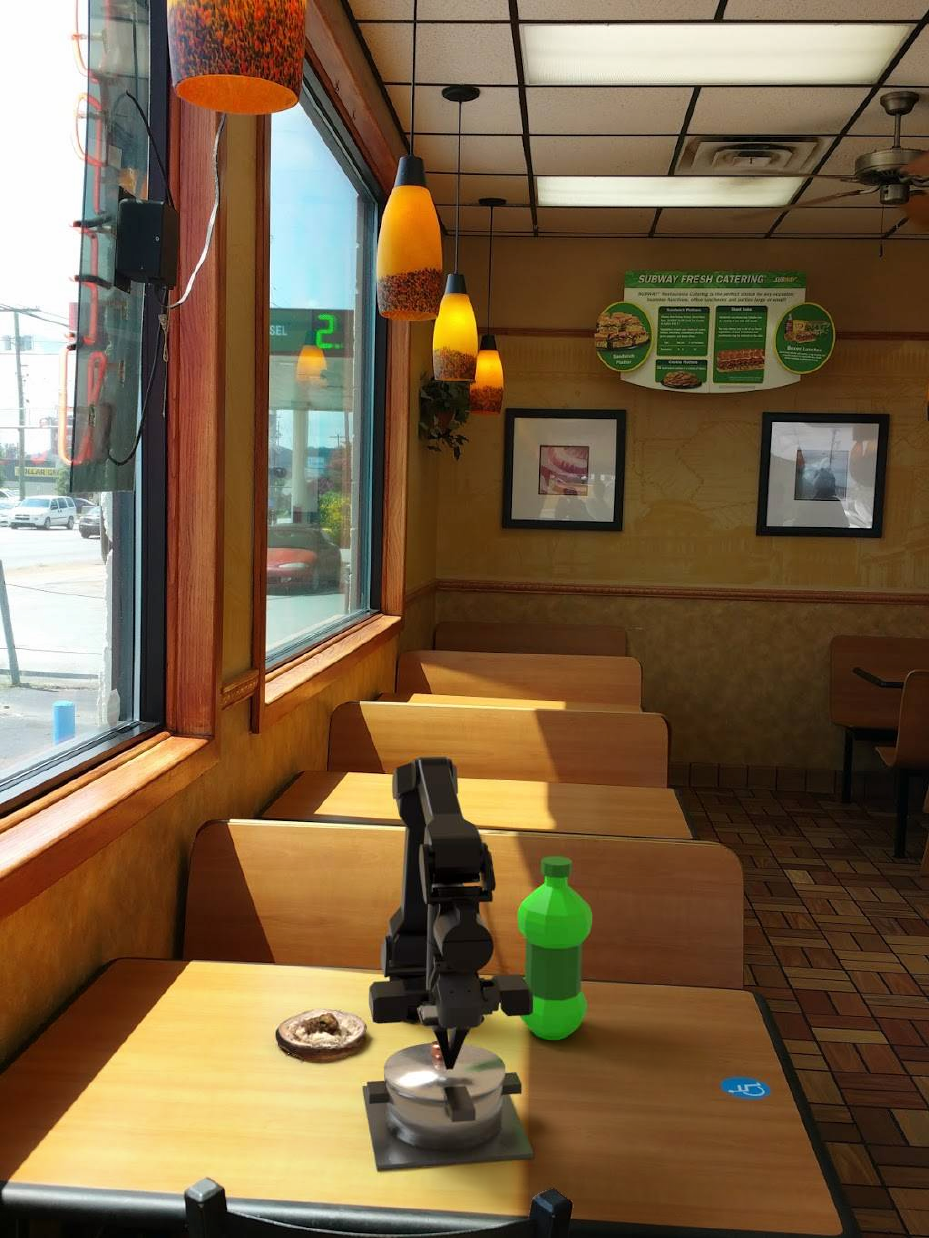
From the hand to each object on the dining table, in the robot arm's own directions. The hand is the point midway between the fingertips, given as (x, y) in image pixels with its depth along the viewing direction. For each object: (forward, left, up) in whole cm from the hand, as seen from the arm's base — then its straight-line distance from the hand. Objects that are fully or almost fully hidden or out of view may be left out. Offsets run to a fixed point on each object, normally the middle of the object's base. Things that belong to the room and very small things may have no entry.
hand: (448, 1068), depth 135 cm
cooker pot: (-2, -2, -8) cm, 9 cm away
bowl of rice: (-9, -28, -9) cm, 31 cm away
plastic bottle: (-31, -4, -8) cm, 32 cm away
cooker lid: (0, 0, -2) cm, 2 cm away
